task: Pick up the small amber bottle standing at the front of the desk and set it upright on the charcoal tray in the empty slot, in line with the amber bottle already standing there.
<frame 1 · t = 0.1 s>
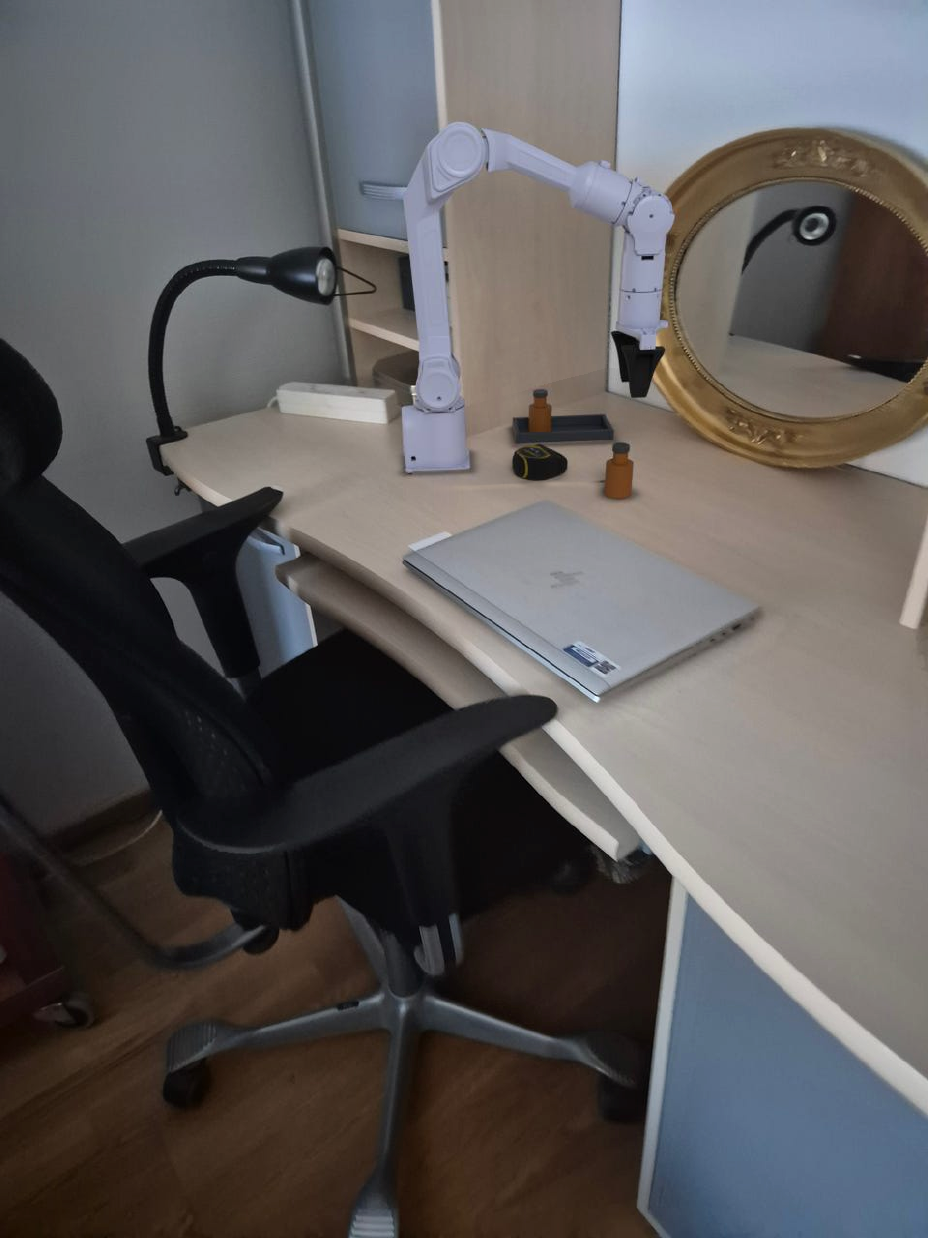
hand: (633, 389, 116), 10 cm above the table, tool pointing down, fingers open, 7 cm apart
row bottle: (539, 433, 130), resting on tray
tray: (561, 435, 130), on the table
amber bottle: (617, 493, 110), on the table
tape measure: (539, 475, 117), on the table
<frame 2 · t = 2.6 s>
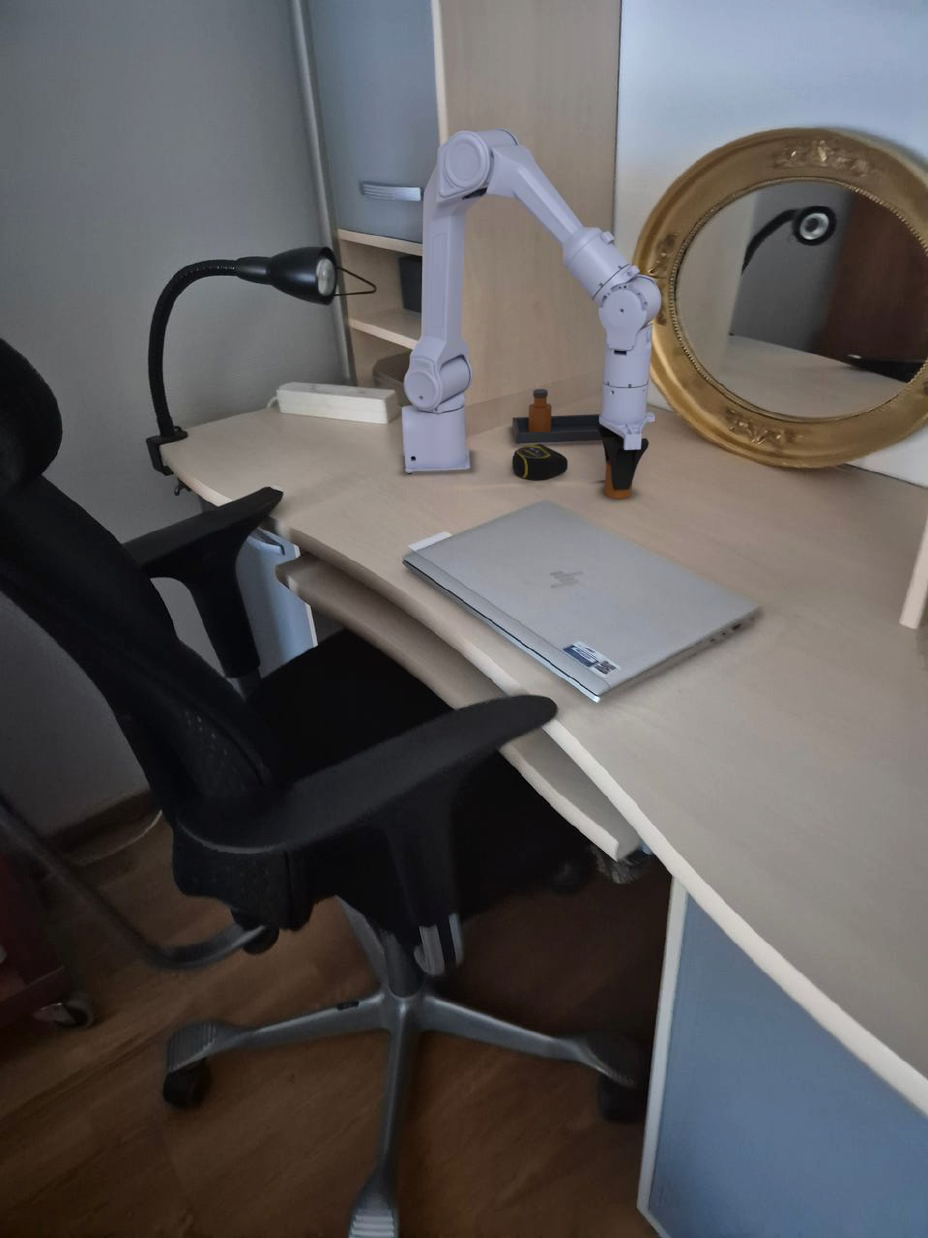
hand: (618, 482, 109), 2 cm above the table, tool pointing down, fingers closed on amber bottle, 3 cm apart
amber bottle: (617, 493, 110), on the table, touching gripper
everything else where it was.
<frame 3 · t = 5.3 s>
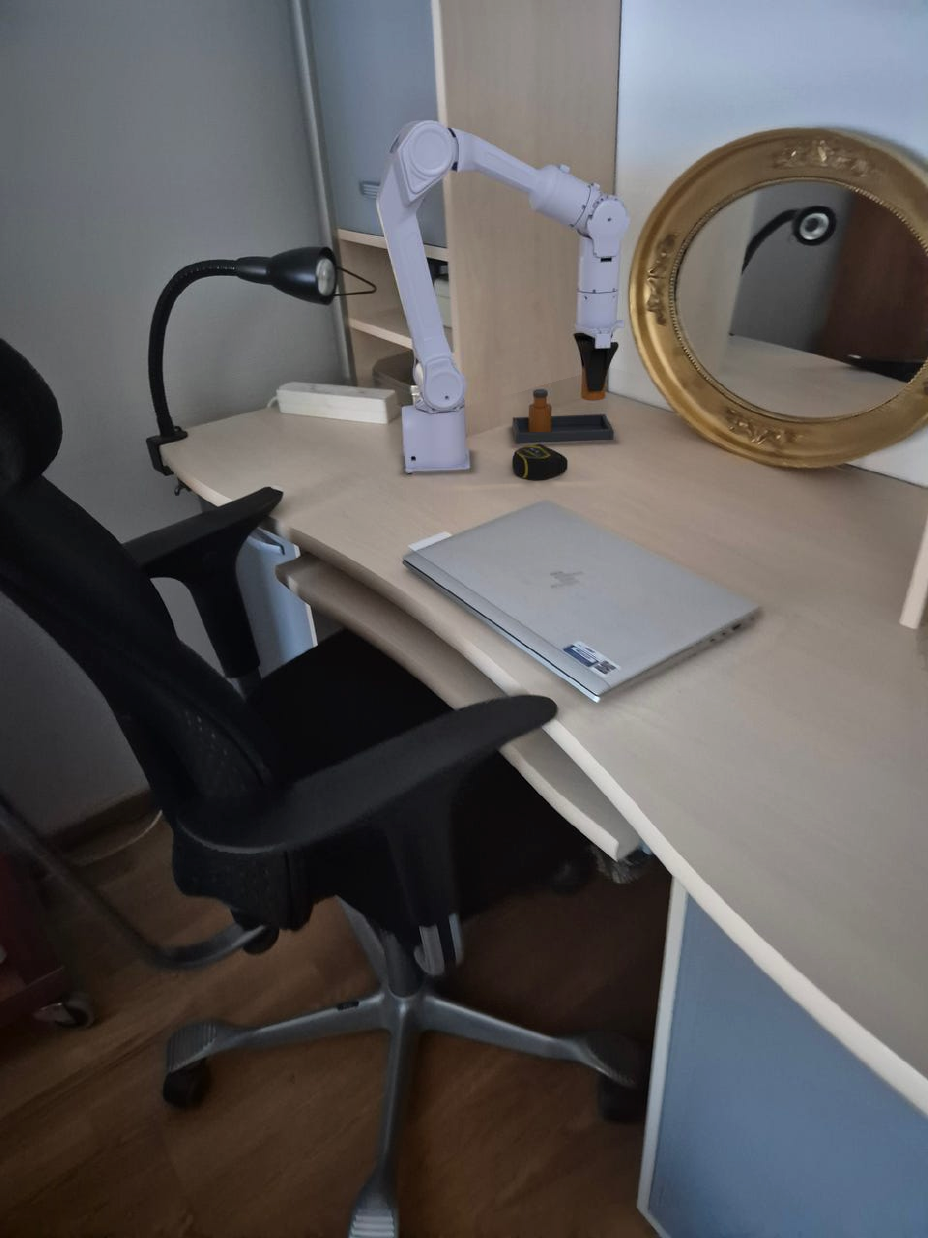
hand: (593, 386, 121), 9 cm above the table, tool pointing down, fingers closed on amber bottle, 3 cm apart
amber bottle: (593, 397, 121), point 8 cm above the table, touching gripper
everything else where it was.
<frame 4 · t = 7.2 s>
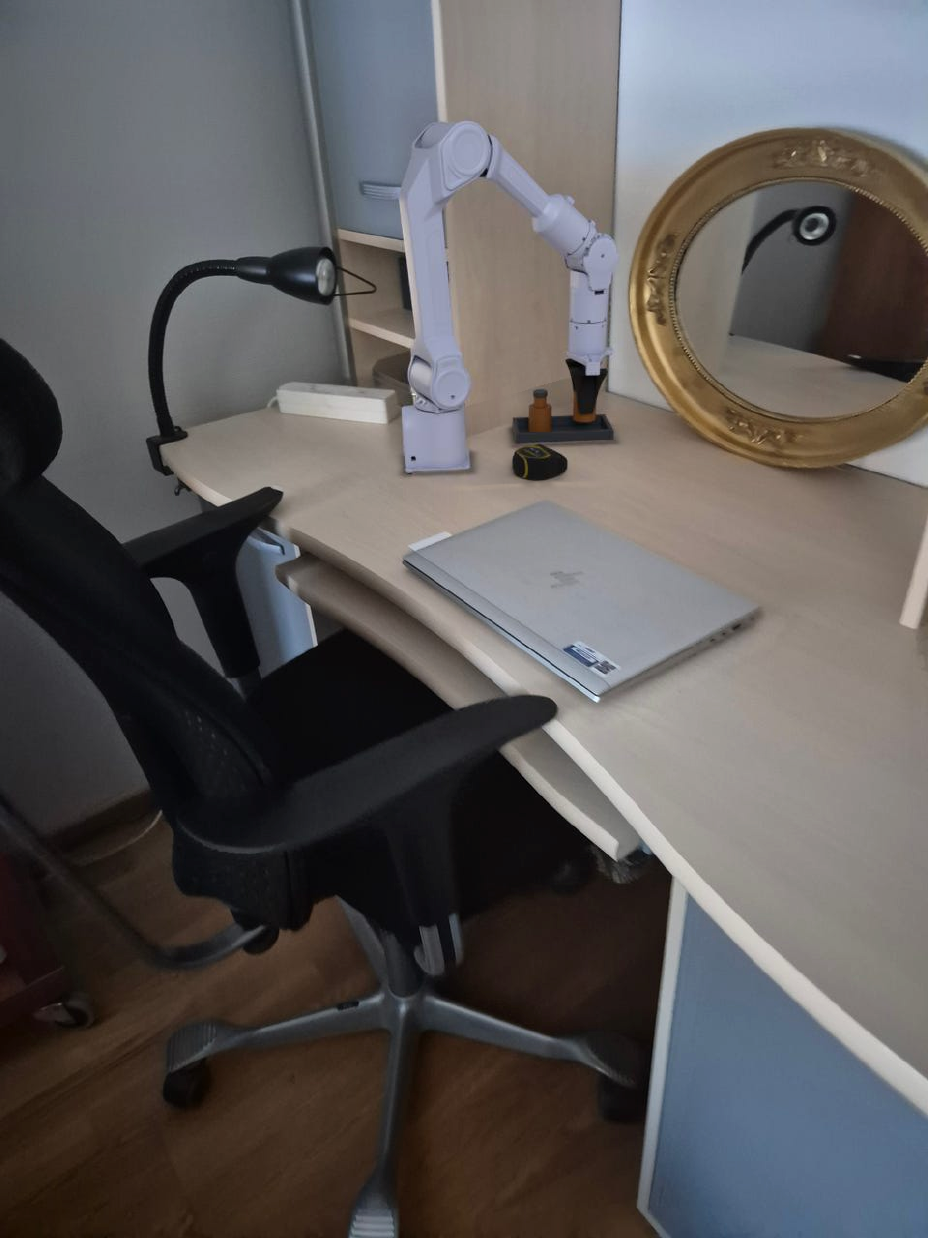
hand: (584, 409, 128), 4 cm above the table, tool pointing down, fingers closed on amber bottle, 3 cm apart
amber bottle: (584, 418, 129), point 3 cm above the table, touching gripper
everything else where it was.
when the fingers open (2 cm above the table, at t = 8.3 s): amber bottle stays where it is, resting on tray.
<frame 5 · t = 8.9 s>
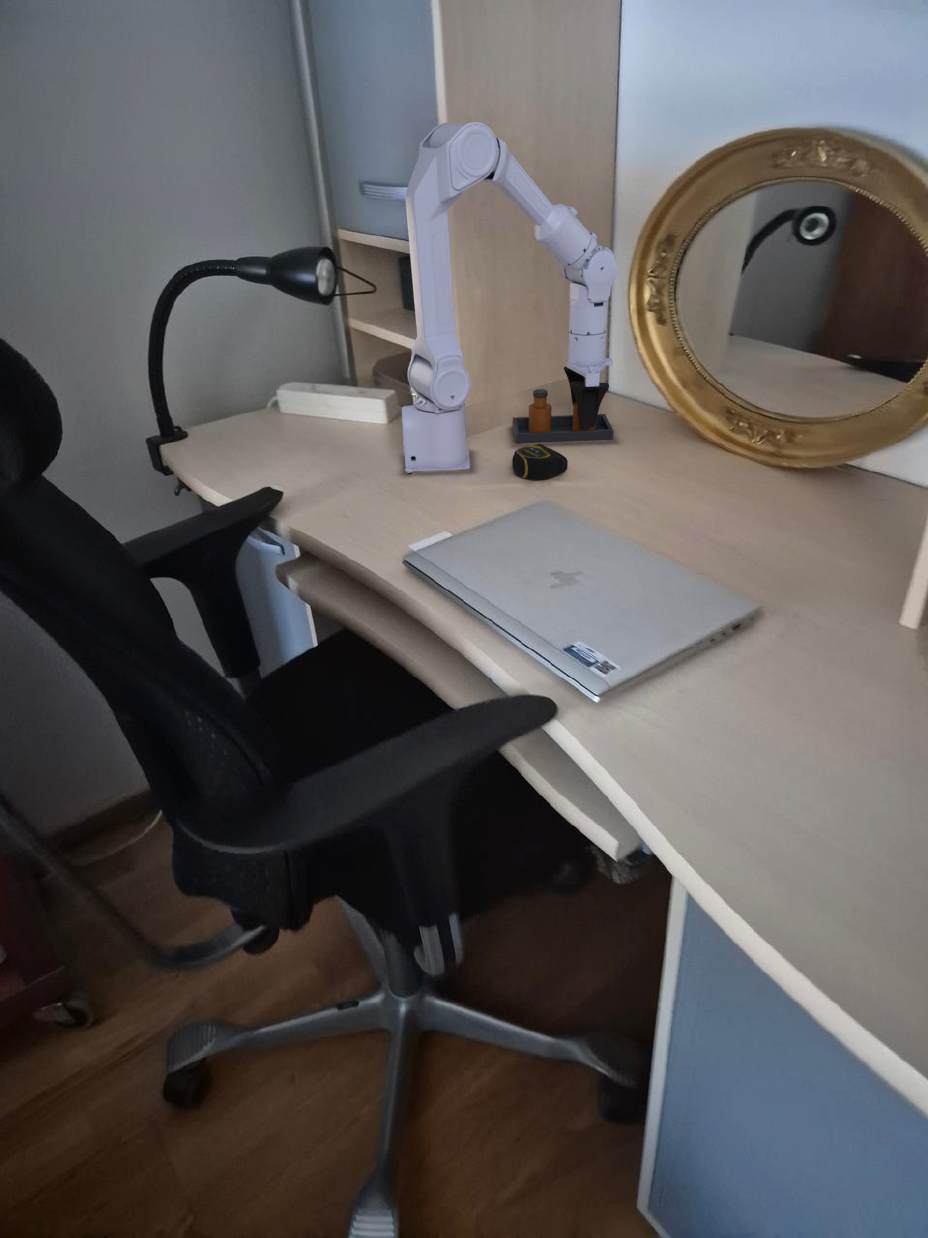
hand: (583, 419, 129), 3 cm above the table, tool pointing down, fingers open, 7 cm apart
amber bottle: (583, 431, 130), resting on tray
everything else where it was.
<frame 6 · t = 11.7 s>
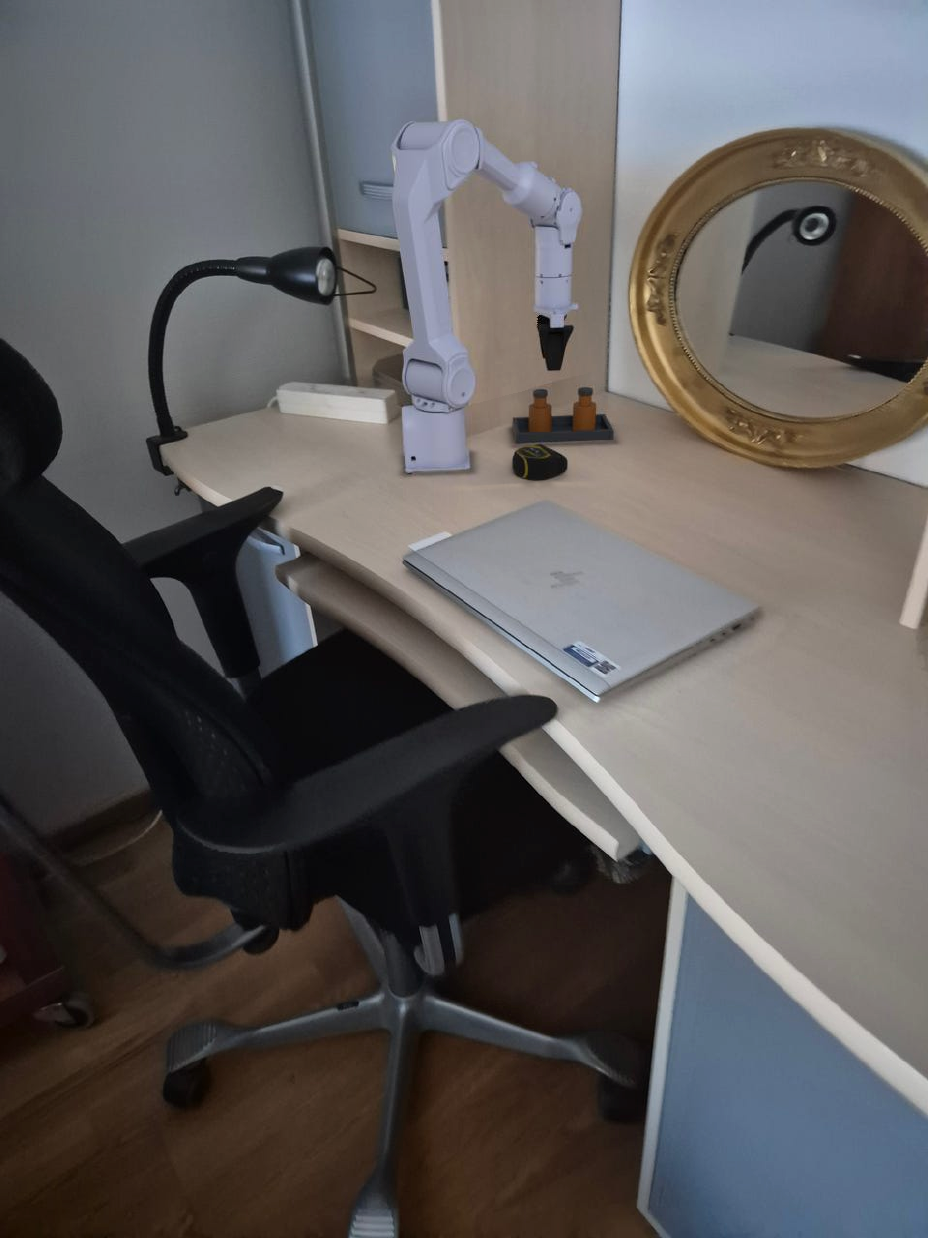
hand: (551, 363, 132), 9 cm above the table, tool pointing down, fingers open, 7 cm apart
nothing on the table moved.
at the end: amber bottle 0.1 cm from the target spot in the tray, point 0.5 cm above the tray's base; amber bottle tilted 0°; the gripper is holding nothing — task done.
